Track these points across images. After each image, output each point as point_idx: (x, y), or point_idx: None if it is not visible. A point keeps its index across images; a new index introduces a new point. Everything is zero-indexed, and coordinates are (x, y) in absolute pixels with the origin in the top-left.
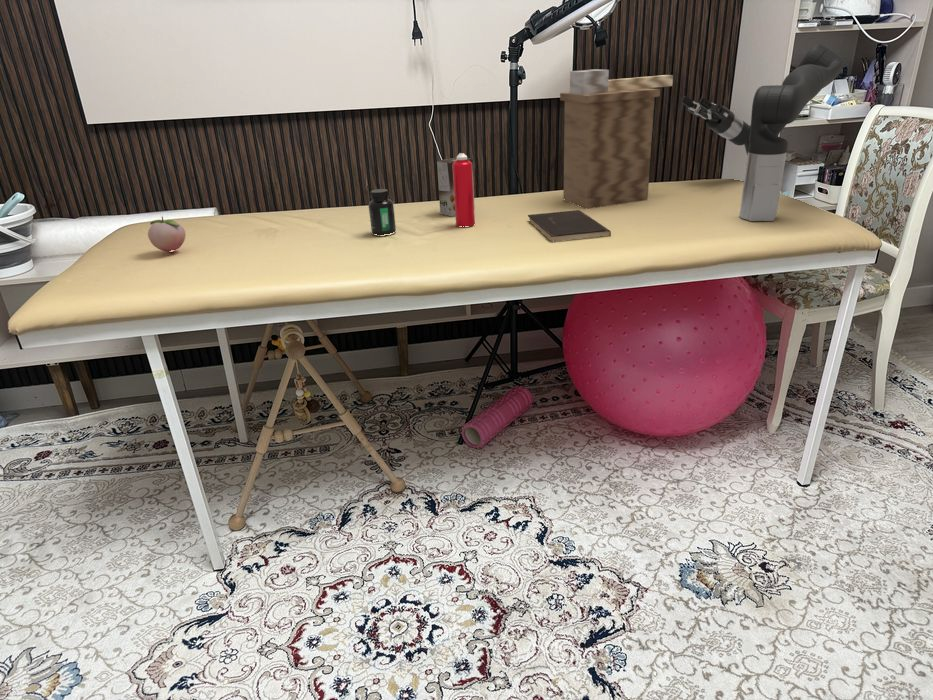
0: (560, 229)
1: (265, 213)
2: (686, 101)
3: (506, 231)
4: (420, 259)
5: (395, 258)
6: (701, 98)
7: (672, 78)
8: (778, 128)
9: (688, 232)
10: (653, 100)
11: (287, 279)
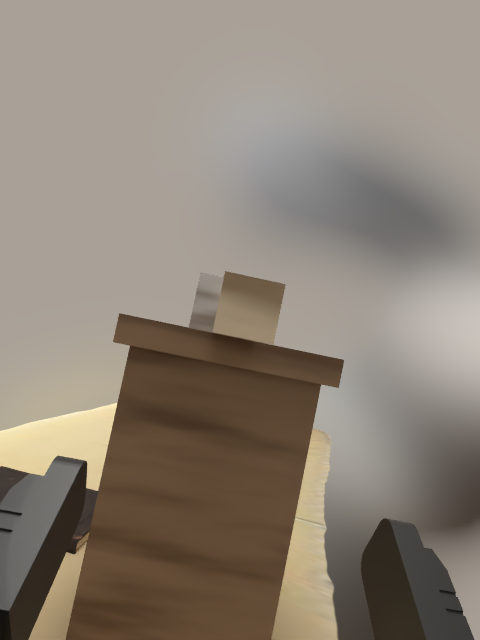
0: (11, 479)
1: (327, 453)
2: (383, 594)
3: (96, 480)
4: (80, 433)
5: (101, 431)
6: (75, 464)
7: (222, 290)
8: None
9: None
10: (128, 358)
11: (114, 411)
